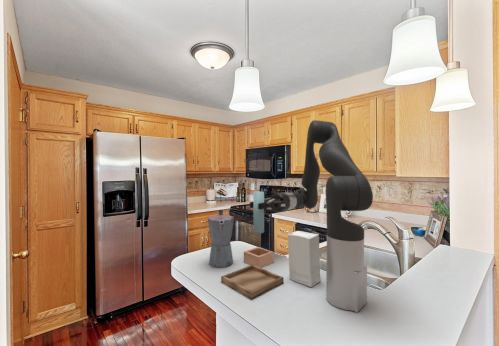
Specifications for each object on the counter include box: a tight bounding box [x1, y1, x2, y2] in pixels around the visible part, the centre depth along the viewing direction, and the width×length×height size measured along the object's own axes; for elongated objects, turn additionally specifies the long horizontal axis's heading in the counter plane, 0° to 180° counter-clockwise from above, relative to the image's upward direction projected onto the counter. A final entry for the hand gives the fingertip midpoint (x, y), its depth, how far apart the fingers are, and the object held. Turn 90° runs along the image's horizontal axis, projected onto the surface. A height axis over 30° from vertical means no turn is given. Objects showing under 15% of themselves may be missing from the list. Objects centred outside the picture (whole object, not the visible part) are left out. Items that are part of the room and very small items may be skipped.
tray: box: [220, 265, 285, 300], centre depth 73 cm, size 14×14×2 cm
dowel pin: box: [252, 190, 265, 234], centre depth 89 cm, size 4×4×15 cm
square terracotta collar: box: [243, 246, 275, 268], centre depth 89 cm, size 8×8×4 cm
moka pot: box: [207, 209, 235, 269], centre depth 89 cm, size 10×15×20 cm, turn 14°
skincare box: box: [287, 230, 322, 288], centre depth 75 cm, size 8×6×15 cm
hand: (254, 205), depth 87 cm, fingers closed on dowel pin, 4 cm apart
